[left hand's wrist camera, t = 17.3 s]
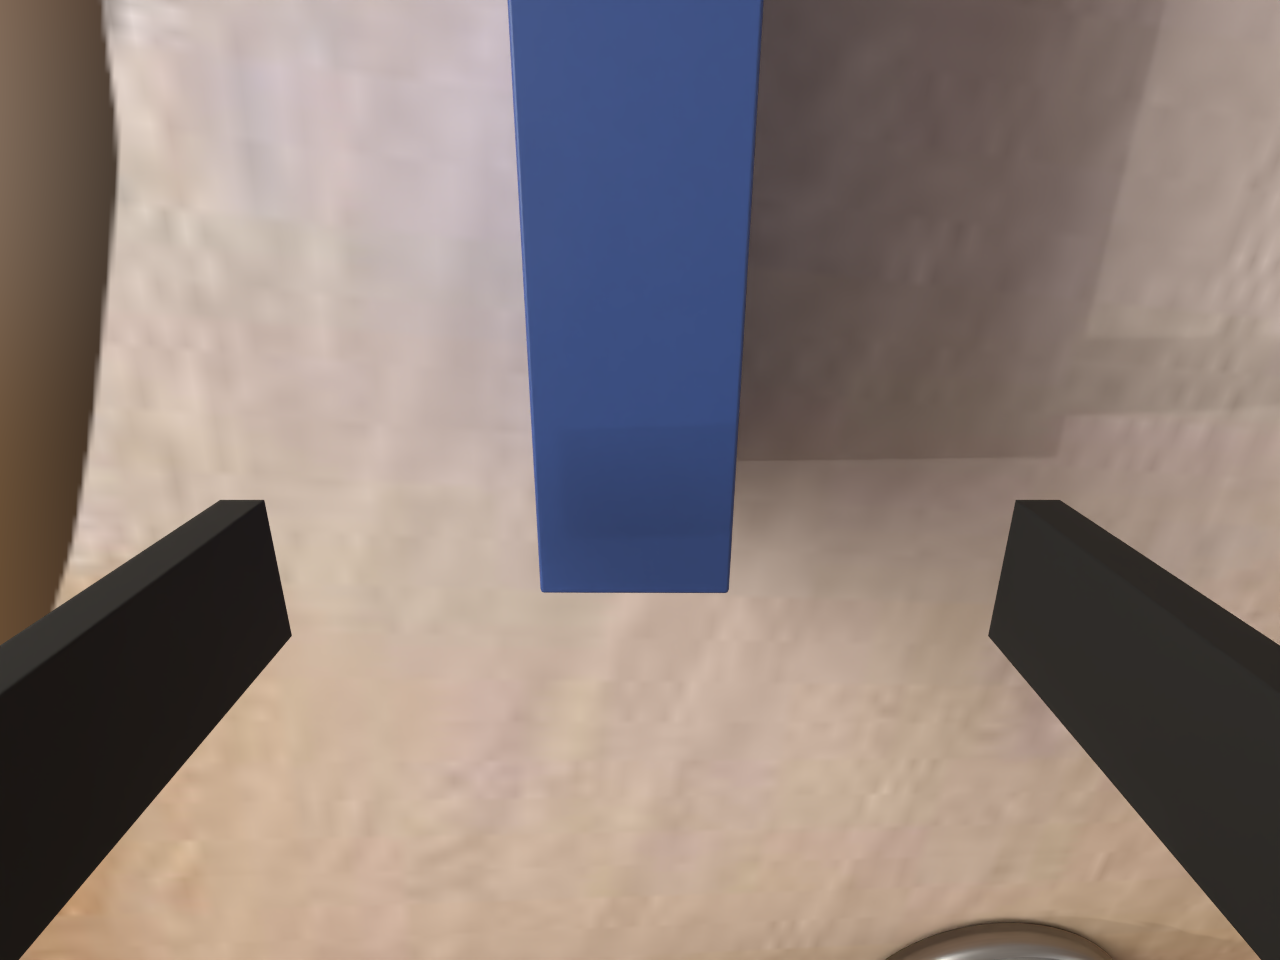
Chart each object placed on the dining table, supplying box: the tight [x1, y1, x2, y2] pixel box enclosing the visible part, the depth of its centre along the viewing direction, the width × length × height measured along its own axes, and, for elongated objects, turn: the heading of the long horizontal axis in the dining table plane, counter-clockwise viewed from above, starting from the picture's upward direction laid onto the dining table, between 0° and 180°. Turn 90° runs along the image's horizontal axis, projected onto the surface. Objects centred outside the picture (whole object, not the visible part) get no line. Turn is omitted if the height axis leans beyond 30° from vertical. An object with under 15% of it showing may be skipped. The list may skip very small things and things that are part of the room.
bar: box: [508, 0, 764, 593], centre depth 16 cm, size 26×5×9 cm, turn 0°
